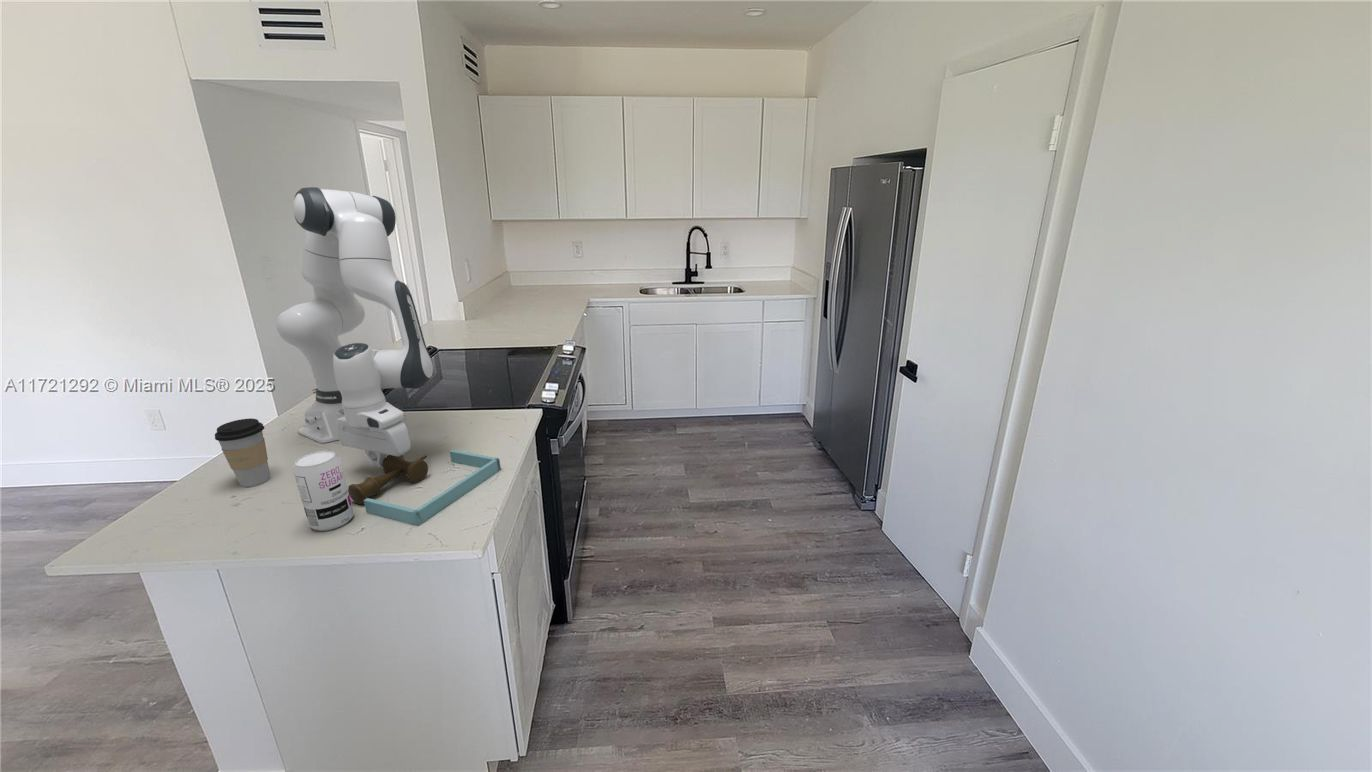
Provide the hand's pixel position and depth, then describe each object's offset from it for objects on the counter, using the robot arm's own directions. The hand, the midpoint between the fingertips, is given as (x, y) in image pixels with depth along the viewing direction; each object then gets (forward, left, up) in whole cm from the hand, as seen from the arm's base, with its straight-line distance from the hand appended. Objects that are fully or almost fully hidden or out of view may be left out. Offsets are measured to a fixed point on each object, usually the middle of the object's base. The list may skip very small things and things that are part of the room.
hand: (379, 465), depth 135 cm
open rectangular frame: (+17, 0, -3) cm, 18 cm away
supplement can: (+7, -18, -3) cm, 19 cm away
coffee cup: (-29, -12, -3) cm, 31 cm away
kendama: (+6, -2, -4) cm, 7 cm away
